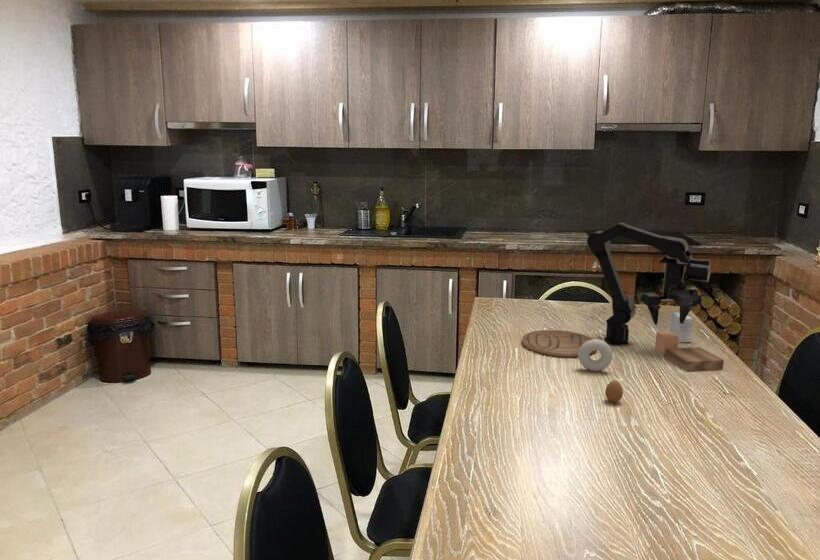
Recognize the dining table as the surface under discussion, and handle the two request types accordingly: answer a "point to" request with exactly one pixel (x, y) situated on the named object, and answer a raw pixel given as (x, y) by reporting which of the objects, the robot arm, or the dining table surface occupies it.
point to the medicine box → (681, 327)
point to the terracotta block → (666, 341)
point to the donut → (592, 346)
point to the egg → (614, 391)
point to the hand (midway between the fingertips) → (668, 324)
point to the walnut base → (694, 359)
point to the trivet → (555, 343)
